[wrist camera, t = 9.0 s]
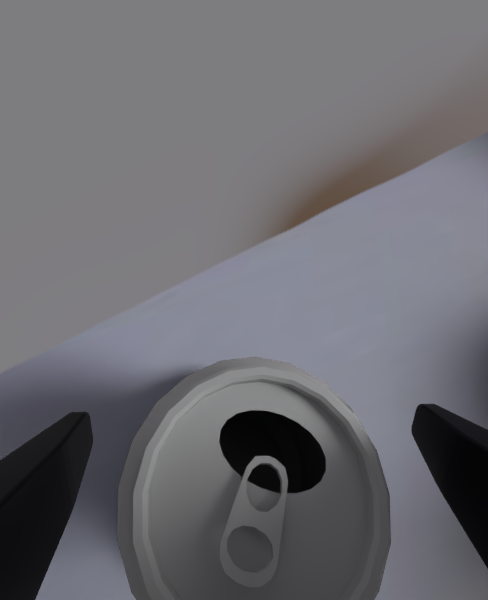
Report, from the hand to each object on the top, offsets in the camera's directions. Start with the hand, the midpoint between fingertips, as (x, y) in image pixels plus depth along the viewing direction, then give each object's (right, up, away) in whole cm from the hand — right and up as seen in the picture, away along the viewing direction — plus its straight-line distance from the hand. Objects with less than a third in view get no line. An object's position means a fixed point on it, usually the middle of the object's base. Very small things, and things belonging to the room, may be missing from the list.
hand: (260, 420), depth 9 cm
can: (-1, -7, +10) cm, 12 cm away
